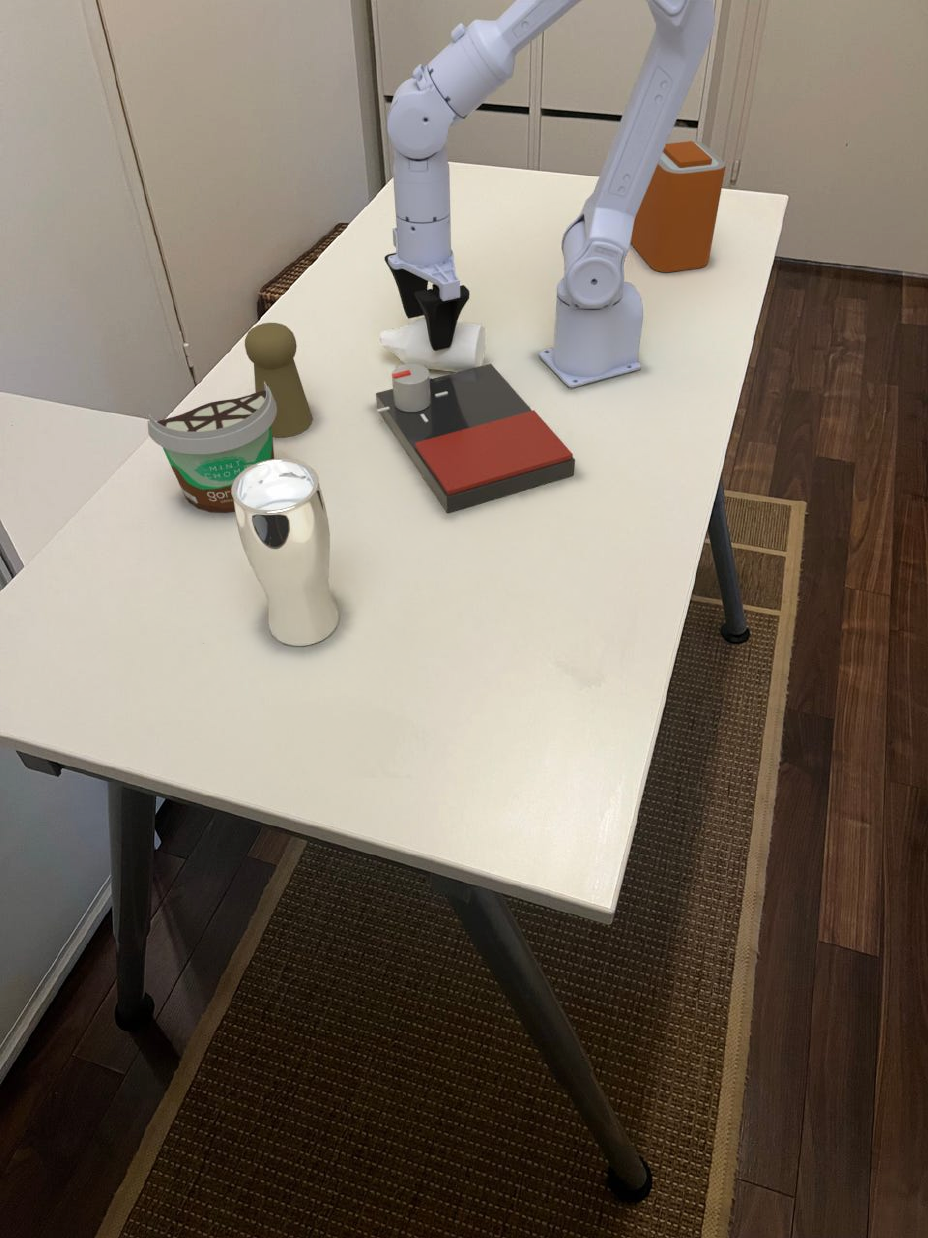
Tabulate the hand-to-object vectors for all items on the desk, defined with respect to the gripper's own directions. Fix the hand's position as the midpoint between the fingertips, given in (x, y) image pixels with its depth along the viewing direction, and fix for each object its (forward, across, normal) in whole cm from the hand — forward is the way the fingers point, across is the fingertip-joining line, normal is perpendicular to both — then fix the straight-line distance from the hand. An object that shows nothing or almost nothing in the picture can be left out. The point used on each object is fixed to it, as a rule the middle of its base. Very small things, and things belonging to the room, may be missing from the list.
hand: (428, 331), depth 106 cm
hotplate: (+2, +22, -2) cm, 22 cm away
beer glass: (+4, +34, -26) cm, 43 cm away
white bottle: (+4, 0, 0) cm, 5 cm away
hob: (+4, +16, -2) cm, 17 cm away
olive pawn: (+4, +4, -19) cm, 20 cm away
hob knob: (+2, +10, -6) cm, 11 cm away
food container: (+4, +15, -27) cm, 31 cm away
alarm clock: (+4, -14, +41) cm, 44 cm away
